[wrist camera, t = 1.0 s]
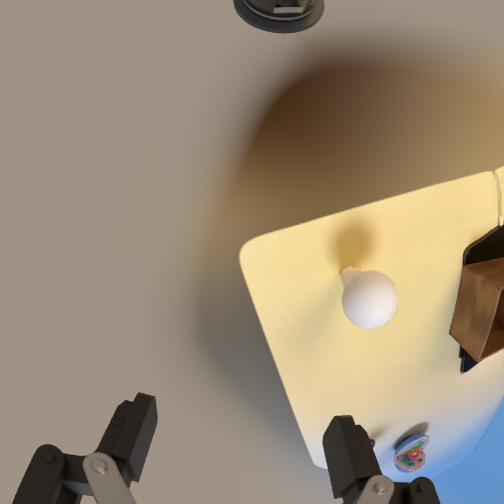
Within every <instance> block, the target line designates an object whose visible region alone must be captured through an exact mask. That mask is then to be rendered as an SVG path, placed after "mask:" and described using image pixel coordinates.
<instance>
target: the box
mask: <svg viewBox="0 0 504 504" xmlns="http://www.w3.org/2000/svg"><path fill="white" fill-rule="evenodd" d="M449 334H450V335H451V336H452V337H453V338H454V339H455V340H456V341H457V342H458V343H459V344H460V345H461V346H462V347H463V348H464V349H465V350H466V351H467V352H468V353H469V354H470V355H471V356H472V357H473V358H474V360H475V361H476V362H479V361H481V360H483V359H485V358H487V357H489V356H491V355H493V354H495V353H496V352H498V351H500V350H502V349H504V257H503V258H498V259H493V260H489V261H484V262H479V263H474V264H469V265H464V266H463V269H462V275H461V281H460V287H459V292H458V298H457V302H456V307H455V311H454V316H453V320H452V324H451V328H450V331H449Z"/></svg>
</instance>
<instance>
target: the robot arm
mask: <svg viewBox="0 0 504 504" xmlns="http://www.w3.org/2000/svg"><path fill="white" fill-rule="evenodd" d="M243 1H244V4H245V6H246V7H247V8H248V9H249V11H251V12H252V13H253V14H255V15H256V16H258V17H260V18H263V19H266V20H269V21H274V22H294V21H298V20H301V19H304V18H306V17H307V16H309V15H310V14H311V13H312V11H313V10H314V7H315V5H316V0H243ZM156 408H157V407H156V399H155V396H151V395H147V394H144V393H140V392H139V393H138V394H137V395H136V397H135V399H134V402H131V401H128V400H125V401H124V402H123V403H121V404H120V405H119V406H118V407H117V409H116V411H115V413H114V415H113V417H112V419H111V421H110V424H109V425H108V427H107V429H106V431H105V433H104V436H103V437H102V440H101V442H100V444H99V446H98V448H97V449H96V451H95V452H93V453H91V454H89V455H86V456H77V455H70V454H64V453H62V452H61V450H60V449H58V448H57V447H55V446H53V445H50V444H45V445H42V446H40V447H39V448H38V449H37V450H36V452H35V454H34V456H33V458H32V460H31V462H30V464H29V466H28V468H27V470H26V472H25V475H24V477H23V479H22V481H21V484H20V486H19V488H18V491H17V493H16V495H15V498H14V500H13V503H12V504H80V502H81V498H82V495H88V496H94V498H95V500H96V503H97V504H137V503H136V501H135V499H134V497H133V496H132V494H131V492H130V490H129V487H130V484H131V481H135V482H139V479H140V476H141V473H142V470H143V466H144V463H145V460H146V457H147V454H148V451H149V448H150V444H151V441H152V438H153V435H154V432H155V429H156V425H157V419H158V416H157V409H156ZM323 448H324V453H325V457H326V462H327V467H328V471H329V476H330V481H331V485H332V490H333V495H334V499H337V498H343V503H342V504H440V501H439V498H438V496H437V493H436V490H435V487H434V485H433V482H432V481H431V480H430V479H428V478H426V477H418V478H416V479H414V480H413V481H412V482H411V483H404V482H403V483H401V482H393V481H392V480H391V479H390V478H388V477H387V476H384V475H383V474H382V473H381V470H380V467H379V464H378V462H377V459H376V456H375V453H374V451H373V449H372V445H371V442H370V440H369V437H368V434H367V432H366V431H365V430H364V429H363V428H362V426H361V425H355V423H354V420H353V417H352V416H351V415H343V416H334V418H333V419H332V421H331V423H330V424H329V426H328V428H327V430H326V431H325V433H324V435H323Z"/></svg>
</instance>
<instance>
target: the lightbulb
mask: <svg viewBox="0 0 504 504" xmlns="http://www.w3.org/2000/svg"><path fill="white" fill-rule="evenodd" d="M340 280H341V282H342V284H343V288H344V291H343V295H342V305H343V310H344V313H345V315H346V317H347V318H348V319H349V320H350V321H351V322H352V323H353V324H354V325H356V326H358V327H361V328H365V329H372V328H377V327H380V326H382V325H383V324H385V323H386V322H387V321H389V319H390V318H391V317H392V316H393V314H394V312H395V310H396V307H397V303H398V294H397V290H396V287H395V285H394V283H393V281H392V280H391V279H390V278H389V277H388V276H387V275H385V274H383V273H381V272H378V271H372V270H370V271H364V272H362V271H361V270H357V269H356V268H354V267H352V266H348V267H346V268H344V269H343V270H342V272H341V274H340Z"/></svg>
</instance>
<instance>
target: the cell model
mask: <svg viewBox="0 0 504 504" xmlns="http://www.w3.org/2000/svg"><path fill="white" fill-rule="evenodd" d="M429 441H430V437H429V436H427V435H425V434H417V435H413V436H411V437H409V438H407V439H406V440H405V441H403V442H402V443H401V444H400V446H399V447H398V448H397V450H396V452H395V456H394V463H395V467H396V468H397V469H398V470H399V471H401V472H406V473H407V472H413V471H416V470H418V469H420V468H421V467H422V466H423V465H424V464H425V461H426V455H425V453H424V451H423V449H424V448H425V447H426V446H427V444H428V443H429Z"/></svg>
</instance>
